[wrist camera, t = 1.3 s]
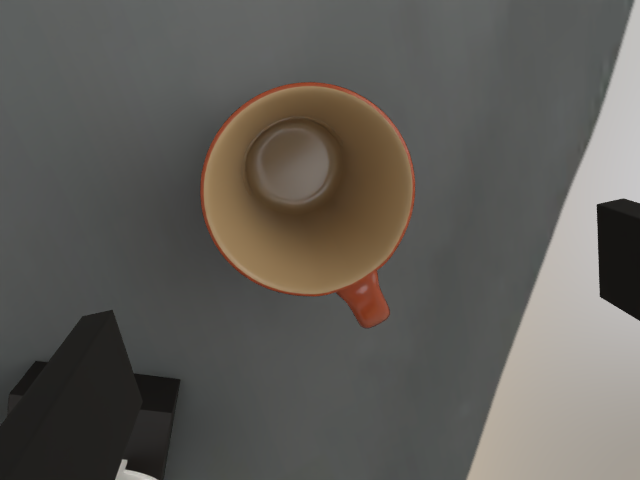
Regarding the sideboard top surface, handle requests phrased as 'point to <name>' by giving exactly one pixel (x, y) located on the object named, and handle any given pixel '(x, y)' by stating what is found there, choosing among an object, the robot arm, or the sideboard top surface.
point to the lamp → (149, 430)
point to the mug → (310, 194)
